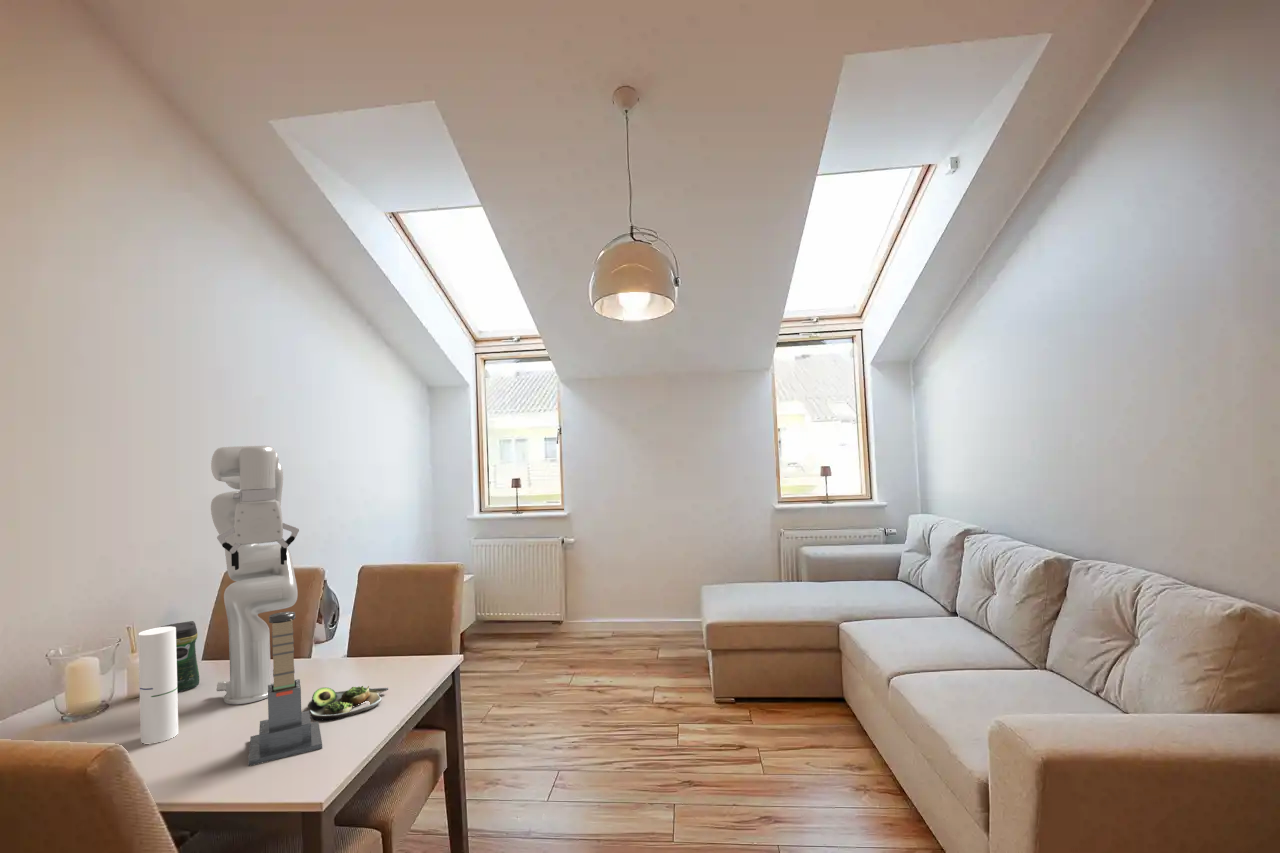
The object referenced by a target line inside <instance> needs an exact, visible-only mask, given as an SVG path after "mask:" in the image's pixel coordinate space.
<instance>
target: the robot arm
mask: <svg viewBox="0 0 1280 853" xmlns="http://www.w3.org/2000/svg"><path fill="white" fill-rule="evenodd" d="M279 460H280V459H279V453H278V452H277V451H276V449H274V448H273V447H272V446H270V445H244V446H223V447H218V448H216V450H215V451H214V452H213V454H212V457H211V460H210V461H211V462H210V464H211V465H210V469H211V470H210V471H211V473H212V476H213V478H214V479H215V480H216V481H218V482H223V483H225V484H226V485H227V486H228V487H230V488H232V489H235V491H226V492H222V493H220V494H218V495H216V496H214V497H213V498H212V499H211V500H212V501H211V503H210V514H211V519H212V521H213V522H212V523H213V524H214V527H215V529H216V531H217V533H218V535H217V537H216V538H217V541H218V542H219V544H220V545H221V546H222V548H223V549H224V553H225V562H226V570H227V575H228V577H229V579H230V580H232V581H234V582H232V583H230V584H229V585H227V587H225V590H224V593H223V600H224V602H223V603H224V606H225V612H226V617H227V625H228V626H227V627H228V643H229V644H228V646H229V650H228V652H229V678H230V679H229V681H218V682H217V684H216V692H225V694H224V695H223V702H224V703H226V704H228V705H243V704H250V703H256V702H259V701H262V700H265V699H268V685H272V684H273V682H272V676H271V674H272V673H271V670H272V669H271V668H272V667H271V642H270V641H271V640H270V638H271V637H270V636H271V635H270V627H269V625H268V624H267V622H266V621H265V620H263V618H261V617H260V616H259V614H263V613H267V612H268V613H269V612H273V611H279V610H283V609H284V610H285V609H289V608H291V607H293V606H294V605H295V604H296V603H297V601H298V591H299V590H298V584H297V579H296V576H295V575H296V574H295V569H294V565H293V558H292V555H291V551H290V550H289V549H290V548H289V546H290V545H291V544H292V543H293V542H294V541H295V540H296V537H297V536H298V533H299V532H300V530H299V528H298V527H296V526H294V525H290V524H287V523H284V522H283V514H282V508H281V505H282V496H283V494H282V493H283V485H284V471H283V470H284V469H283V467H282V465H281V463H280V462H279ZM284 530H285V531H289V532H291V533H290V535H289V537H288V538H286V540H285V539H284V538H283V537H284ZM275 542H276V543H275ZM267 543H269V544H268V545H267ZM270 543H274V544H270ZM261 544H266V545H261Z"/></svg>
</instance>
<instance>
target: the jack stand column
mask: <svg viewBox="0 0 1280 853" xmlns="http://www.w3.org/2000/svg"><path fill="white" fill-rule="evenodd" d="M295 619H296V612H295V611H282V612H277V613H273V614H270V615H269V616H268V623H270V624H272V625H271V626H272V627H271V628H272V629H271V630H272V631H271V637H272V641H271V643H272V644H271V646H272V647H271V648H272V661H273V663H272V666H273V668H272V669H273V670H272V677H273V682H272V683H273V689H274V692H275V691H280V690H285V689H291V688H294V686H295V680H296V679H295V662H294V661H295V660H294V659H295V657H294V654H295V648H294V643H295V642H294V628H293V627H294V623H293V621H294V620H295Z"/></svg>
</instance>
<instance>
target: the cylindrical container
mask: <svg viewBox="0 0 1280 853" xmlns="http://www.w3.org/2000/svg"><path fill="white" fill-rule="evenodd" d="M137 636H138V638H137V640H138V676H139V678H138V679H139V682H138V683H139V712H140V713H139V718H140V719H139V720H140V721H139V722H140V728H139V729H140V743H141V742H142V743H154V742H160V741H164V740H167V739H170V738H172V739H174V738H175V736H176V735H177V734H178V735H179V707H178V706H179V705H178V704H179V701H178V698H179V697H178V696H179V695H178V692H177V653H176V627H172V626H169V627H161V626H160V627H159V626H158V627H154V628H150V629H146V630H142V631H140V632H138V634H137ZM178 735H177V736H178ZM177 736H176V737H177ZM173 737H174V738H173ZM170 740H171V739H170ZM167 741H168V740H167ZM164 742H165V741H164ZM142 743H141V744H142Z"/></svg>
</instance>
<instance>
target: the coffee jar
mask: <svg viewBox="0 0 1280 853" xmlns="http://www.w3.org/2000/svg"><path fill="white" fill-rule="evenodd" d="M196 625H197V624H196V623H195V621H193V620H191V621H185V622H177V623H171V624H167V625H161V626H160V627H169V626H172V627H176V653H177V693H179V692H184V691H187V690H188V691H189V690H191V689H193V688H196V687H197V686H199V685H200V673H199V666H198V660H197V654H196V652H197V651H196V650H197V649H196V642H197V640H198V628H197V626H196Z"/></svg>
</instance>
